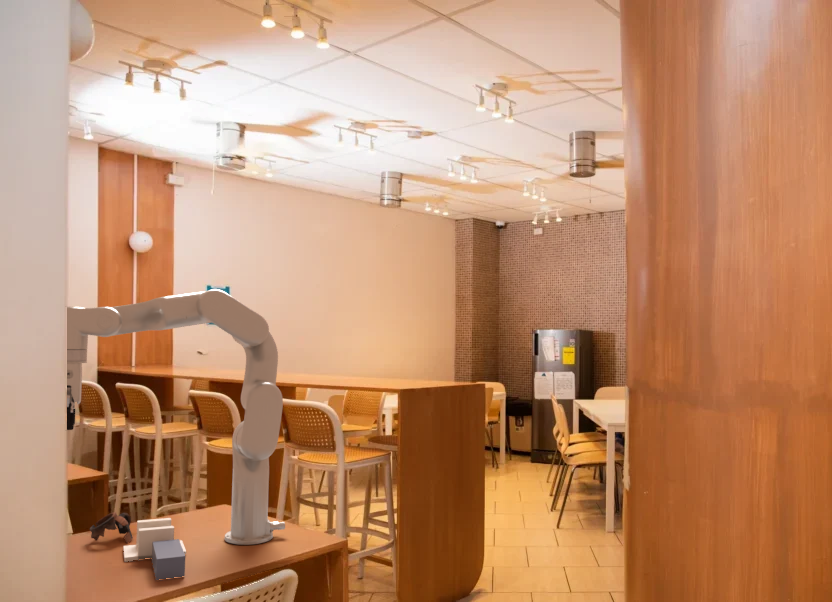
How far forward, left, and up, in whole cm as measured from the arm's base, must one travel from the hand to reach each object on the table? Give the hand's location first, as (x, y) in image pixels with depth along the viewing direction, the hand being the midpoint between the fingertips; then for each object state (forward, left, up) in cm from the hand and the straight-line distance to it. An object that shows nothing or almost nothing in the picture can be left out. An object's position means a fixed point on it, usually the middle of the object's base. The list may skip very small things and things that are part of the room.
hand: (66, 427), depth 170 cm
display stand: (-21, +4, -31) cm, 38 cm away
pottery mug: (-12, -11, -32) cm, 35 cm away
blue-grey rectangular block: (-23, +18, -32) cm, 43 cm away
